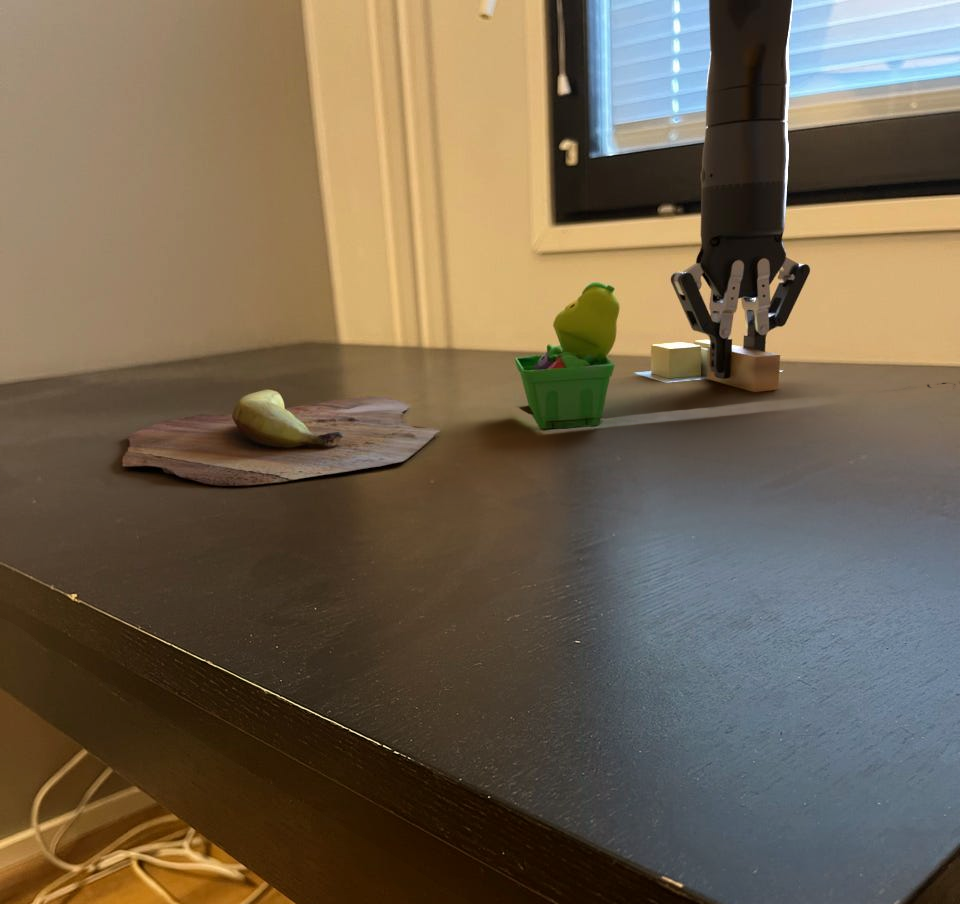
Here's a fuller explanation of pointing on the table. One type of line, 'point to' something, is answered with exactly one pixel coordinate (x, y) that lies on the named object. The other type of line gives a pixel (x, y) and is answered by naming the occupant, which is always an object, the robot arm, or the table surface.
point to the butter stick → (676, 360)
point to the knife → (747, 369)
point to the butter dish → (666, 380)
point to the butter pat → (702, 343)
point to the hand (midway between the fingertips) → (736, 375)
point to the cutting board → (279, 440)
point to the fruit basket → (574, 362)
